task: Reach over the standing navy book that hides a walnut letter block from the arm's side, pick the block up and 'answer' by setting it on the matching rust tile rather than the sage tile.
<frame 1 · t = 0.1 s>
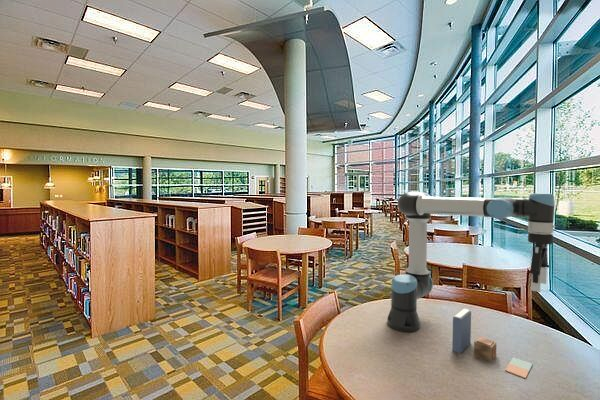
hand: (538, 287, 114), 28 cm above the table, fingers open, 13 cm apart
navy book: (461, 346, 122), on the table
letter block: (484, 355, 116), on the table
tile rust: (516, 371, 106), on the table
tile sage: (520, 364, 110), on the table
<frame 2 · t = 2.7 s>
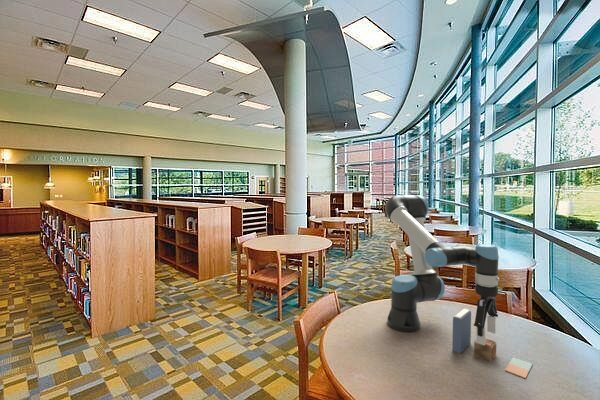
hand: (486, 337, 115), 7 cm above the table, fingers open, 13 cm apart
nothing on the table moved.
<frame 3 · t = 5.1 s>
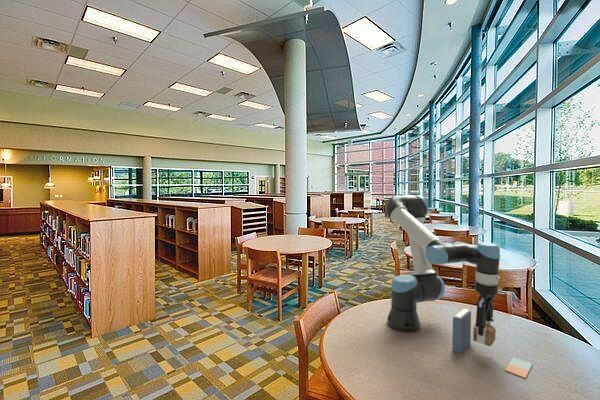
hand: (483, 339, 116), 6 cm above the table, fingers closed on letter block, 6 cm apart
letter block: (483, 340, 116), point 6 cm above the table, touching gripper
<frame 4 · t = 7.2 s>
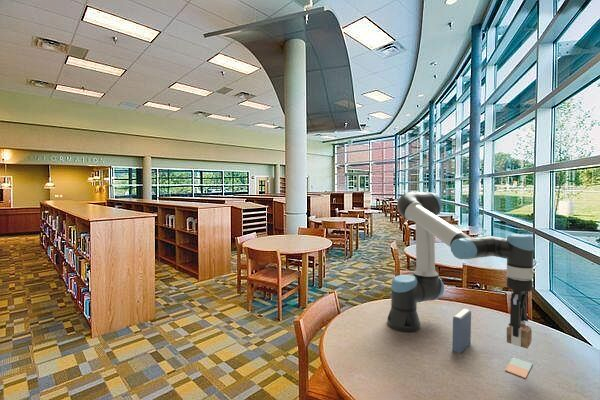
hand: (518, 341, 105), 11 cm above the table, fingers closed on letter block, 6 cm apart
letter block: (518, 342, 105), point 11 cm above the table, touching gripper
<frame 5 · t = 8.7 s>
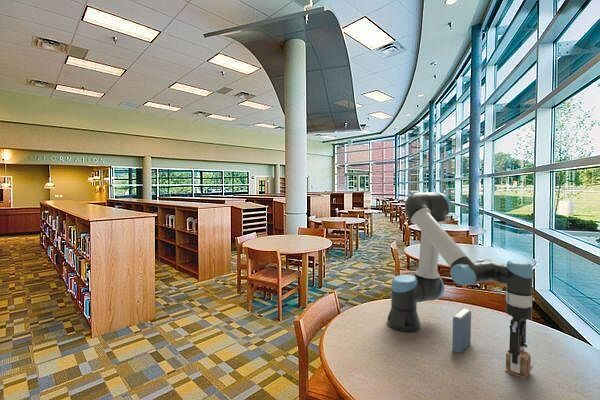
hand: (517, 367, 106), 1 cm above the table, fingers closed on letter block, 6 cm apart
letter block: (518, 368, 105), point 1 cm above the table, touching gripper
when the fingers open (1 cm above the table, at t = 9.3 s): letter block stays where it is, resting on tile rust.
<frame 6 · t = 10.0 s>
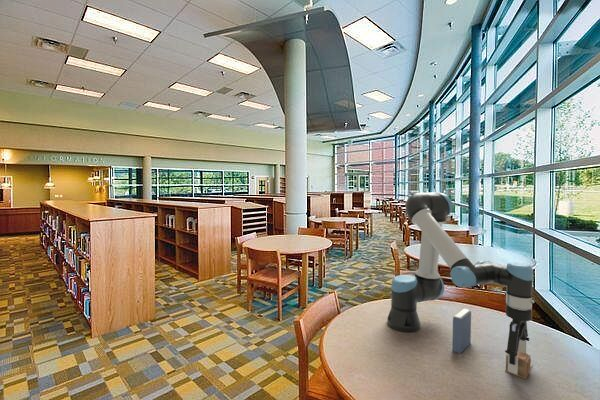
hand: (517, 364, 106), 3 cm above the table, fingers open, 13 cm apart
letter block: (517, 370, 105), resting on tile rust
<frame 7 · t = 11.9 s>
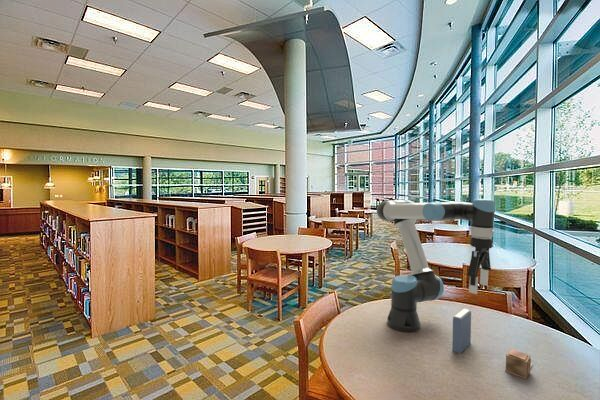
hand: (478, 288, 119), 25 cm above the table, fingers open, 13 cm apart
nothing on the table moved.
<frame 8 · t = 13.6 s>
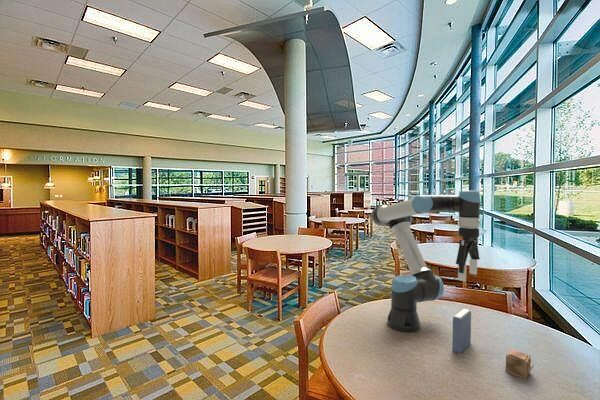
hand: (467, 277, 123), 29 cm above the table, fingers open, 13 cm apart
nothing on the table moved.
at the end: letter block inside the target area on the tile rust (0.2 cm from its centre), point 0.4 cm above the tile rust's base; letter block tilted 0°; the gripper is holding nothing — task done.
